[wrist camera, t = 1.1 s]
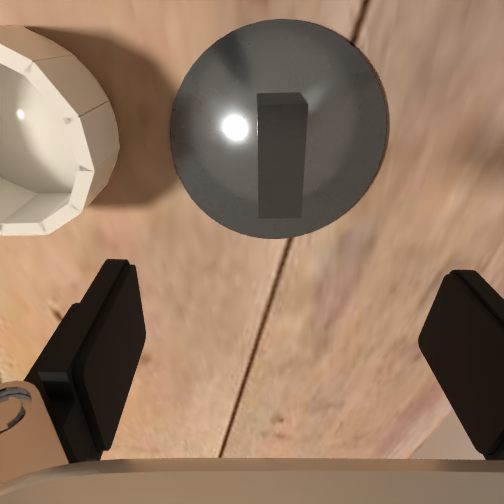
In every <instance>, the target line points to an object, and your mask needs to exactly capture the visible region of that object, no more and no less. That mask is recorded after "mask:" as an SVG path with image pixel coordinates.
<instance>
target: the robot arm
mask: <svg viewBox="0 0 504 504" xmlns="http://www.w3.org/2000/svg"><path fill="white" fill-rule="evenodd" d="M145 339H146V329H145V323H144V316H143V310H142V303H141V297H140V291H139V284H138V278H137V271H136V267H135V265H130V263H129V261H128V260H122V259H107V260H106V261H105V262H104V264H103V266H102V267H101V269H100V271H99V272H98V274H97V276H96V277H95V279H94V281H93V282H92V284H91V285H90V287H89V289H88V290H87V292H86V294H85V295H84V297H83V299H82V300H81V302H80V303H75V304H73V305H72V306H71V307H70V308H69V310H68V312H67V313H66V315H65V316H64V318H63V319H62V321H61V323H60V324H59V326H58V327H57V329H56V330H55V332H54V334H53V335H52V337H51V338H50V340H49V341H48V343H47V345H46V346H45V348H44V349H43V351H42V352H41V354H40V356H39V357H38V359H37V360H36V362H35V364H34V365H33V367H32V368H31V370H30V371H29V373H28V375H27V376H26V378H25V379H24V381H11V382H5V383H2V384H0V504H504V299H503V298H502V297H501V296H500V295H499V294H498V293H497V292H496V291H495V290H494V289H493V288H492V287H491V286H490V285H489V284H488V283H487V282H486V281H485V280H484V279H483V278H482V277H481V276H480V275H479V274H478V273H477V272H476V271H474V270H452V271H451V272H450V273H449V274H447V275H446V276H445V277H444V278H443V281H442V283H441V286H440V288H439V290H438V293H437V295H436V297H435V300H434V302H433V304H432V307H431V309H430V312H429V314H428V316H427V319H426V321H425V323H424V326H423V328H422V330H421V333H420V335H419V338H418V344H419V348H420V350H421V352H422V353H423V355H424V357H425V359H426V361H427V362H428V364H429V366H430V368H431V370H432V371H433V373H434V375H435V377H436V379H437V380H438V382H439V384H440V386H441V388H442V389H443V391H444V393H445V395H446V397H447V399H448V400H449V402H450V404H451V406H452V408H453V409H454V411H455V413H456V415H457V417H458V418H459V420H460V422H461V424H462V425H463V427H464V429H465V431H466V433H467V435H468V436H469V438H470V440H471V442H472V443H473V445H474V447H475V449H476V450H477V451H478V452H479V453H481V454H483V456H484V457H485V459H486V460H441V459H440V460H439V459H329V458H162V459H117V460H101V461H100V459H101V456H102V453H103V451H108V450H109V449H110V448H111V445H112V443H113V440H114V437H115V433H116V430H117V427H118V424H119V421H120V418H121V415H122V412H123V409H124V405H125V402H126V399H127V396H128V393H129V390H130V387H131V384H132V381H133V378H134V374H135V371H136V368H137V365H138V362H139V359H140V356H141V353H142V350H143V347H144V343H145Z"/></svg>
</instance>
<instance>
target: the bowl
mask: <svg viewBox="0 0 504 504" xmlns="http://www.w3.org/2000/svg"><path fill="white" fill-rule="evenodd" d="M119 150H120V144H119V132H118V126H117V121H116V118H115V114H114V111H113V109H112V106H111V104H110V101H109V99H108V97H107V96H106V94H105V92H104V90H103V88H102V87H101V85H100V84H99V83H98V81H97V80H96V78H95V77H94V76H93V74H92V73H91V72H90V71H89V70H88V69H87V67H86V66H85V65H84V64H83V63H82V62H81V61H79V60H78V59H77V58H76V56H75V55H73V53H71V52H69V51H68V50H66V49H65V48H64V47H62V46H61V45H59V44H57V43H56V42H54V41H53V40H51V39H49V38H47V37H44V36H42V35H40V34H38V33H35V32H32V31H30V30H28V29H27V28H25V27H23V26H0V235H2V236H10V235H48V234H50V233H52V232H53V231H55V230H56V229H58V228H59V227H61V226H62V225H64V224H65V223H67V222H68V221H70V220H72V219H73V218H75V217H76V216H78V215H79V214H81V213H82V212H83V211H84V210H85V209H86V207H87V206H88V205H89V204H90V203H91V202H92V201H93V200H94V199H95V197H96V196H97V195H98V194H99V193H100V192H101V191H102V190H103V189H104V187H105V186H106V185H107V184H108V182H109V179H110V176H111V174H112V172H113V170H114V167H115V165H116V162H117V158H118V153H119Z"/></svg>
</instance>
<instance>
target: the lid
mask: <svg viewBox="0 0 504 504" xmlns="http://www.w3.org/2000/svg"><path fill="white" fill-rule="evenodd" d="M385 139H386V110H385V104H384V99H383V96H382V92H381V89H380V86H379V84H378V81H377V79H376V77H375V75H374V73H373V71H372V70H371V68H370V67H369V65H368V63H367V62H366V60H365V59H364V58H363V57H362V56H361V55H360V53H359V52H358V51H357V50H356V49H355V48H354V47H353V46H352V45H350V44H349V43H348V42H347V41H346V40H344V39H343V38H342V37H340V36H339V35H337V34H335V33H333V32H332V31H330V30H328V29H326V28H323V27H321V26H318V25H316V24H313V23H309V22H304V21H299V20H289V19H275V20H266V21H260V22H257V23H253V24H249V25H246V26H244V27H241V28H239V29H237V30H234V31H232V32H230V33H229V34H227V35H225V36H224V37H222V38H221V39H219V40H217V41H216V42H215V43H214V44H213V45H212V46H210V47H209V48H208V49H207V50H206V51H205V52H204V53H203V54H202V55H201V56H200V57H199V58H198V59H197V61H196V62H195V63H194V64H193V66H192V67H191V69H190V70H189V72H188V73H187V75H186V76H185V78H184V80H183V82H182V84H181V86H180V88H179V90H178V93H177V96H176V99H175V102H174V105H173V111H172V116H171V124H170V142H171V151H172V156H173V161H174V164H175V167H176V170H177V173H178V176H179V178H180V180H181V182H182V184H183V186H184V188H185V189H186V191H187V192H188V194H189V195H190V197H191V198H192V199H193V201H194V202H195V203H196V204H197V205H198V206H199V208H200V209H202V210H203V211H204V212H205V213H206V214H207V215H208V216H209V217H211V218H212V219H214V220H215V221H216V222H218V223H219V224H221V225H223V226H225V227H227V228H228V229H231V230H233V231H235V232H238V233H240V234H244V235H248V236H251V237H257V238H264V239H282V238H291V237H296V236H301V235H304V234H308V233H311V232H313V231H316V230H318V229H320V228H323V227H324V226H326V225H328V224H330V223H331V222H333V221H335V220H336V219H337V218H339V217H340V216H342V215H343V214H344V213H345V212H346V211H348V210H349V209H350V208H351V207H352V206H353V205H354V204H355V203H356V202H357V201H358V199H359V198H360V197H361V196H362V195H363V193H364V192H365V190H366V189H367V187H368V186H369V185H370V183H371V181H372V179H373V177H374V175H375V173H376V171H377V169H378V166H379V164H380V161H381V158H382V154H383V150H384V146H385Z"/></svg>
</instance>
